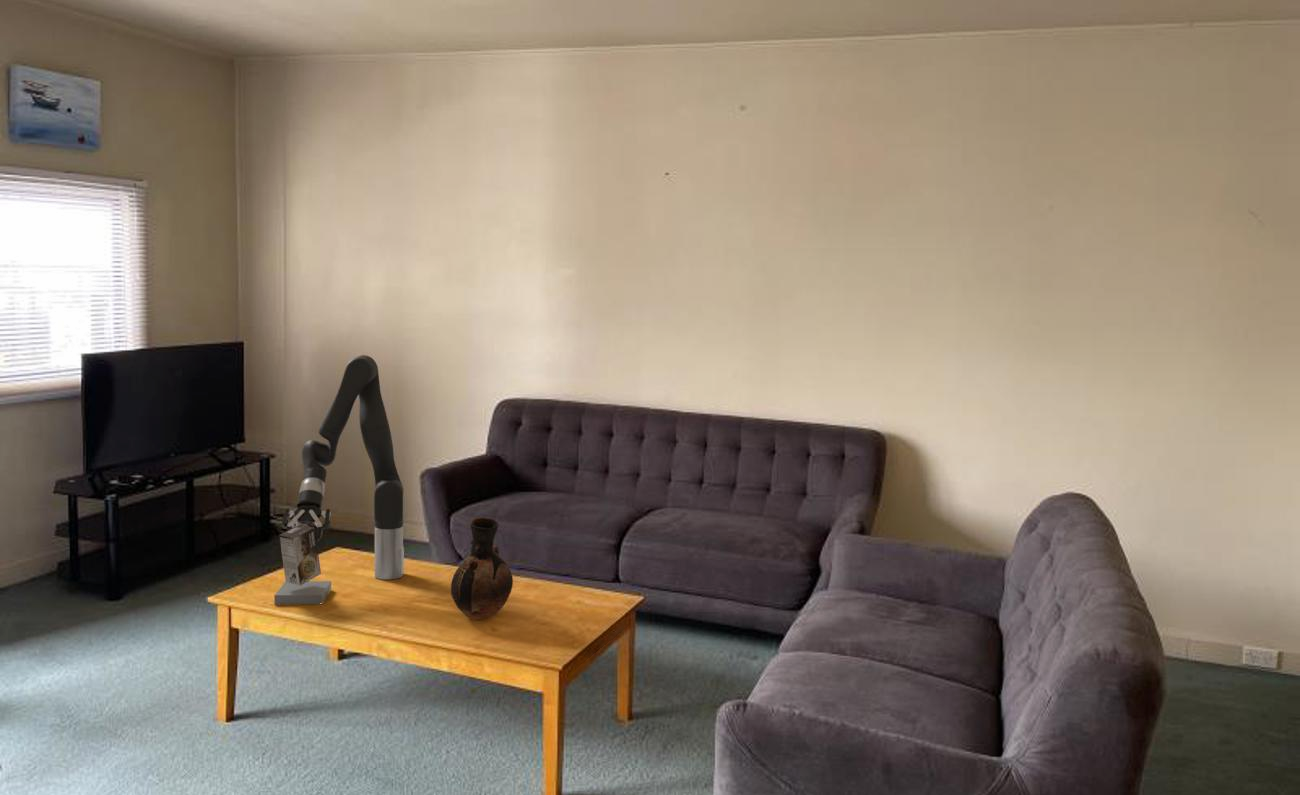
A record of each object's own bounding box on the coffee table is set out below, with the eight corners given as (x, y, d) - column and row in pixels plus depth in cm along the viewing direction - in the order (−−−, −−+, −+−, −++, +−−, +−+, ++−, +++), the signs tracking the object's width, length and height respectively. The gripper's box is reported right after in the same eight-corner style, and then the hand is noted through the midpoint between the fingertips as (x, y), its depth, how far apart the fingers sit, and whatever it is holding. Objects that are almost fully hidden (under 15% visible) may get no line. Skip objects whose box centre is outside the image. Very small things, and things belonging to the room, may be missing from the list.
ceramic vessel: (474, 601, 305) (476, 508, 302) (524, 610, 299) (526, 515, 295) (437, 622, 285) (438, 523, 282) (489, 632, 279) (490, 530, 276)
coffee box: (306, 570, 308) (300, 523, 304) (321, 574, 306) (315, 526, 301) (284, 582, 301) (278, 534, 296) (300, 586, 298) (293, 537, 294)
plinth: (331, 590, 311) (331, 581, 311) (322, 604, 298) (321, 594, 297) (285, 590, 310) (285, 581, 309) (274, 604, 296) (274, 595, 296)
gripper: (286, 488, 308) (277, 533, 298) (332, 489, 310) (325, 533, 300) (290, 501, 314) (281, 545, 304) (335, 501, 316) (328, 545, 306)
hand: (303, 539), depth 302 cm, fingers closed on coffee box, 8 cm apart
